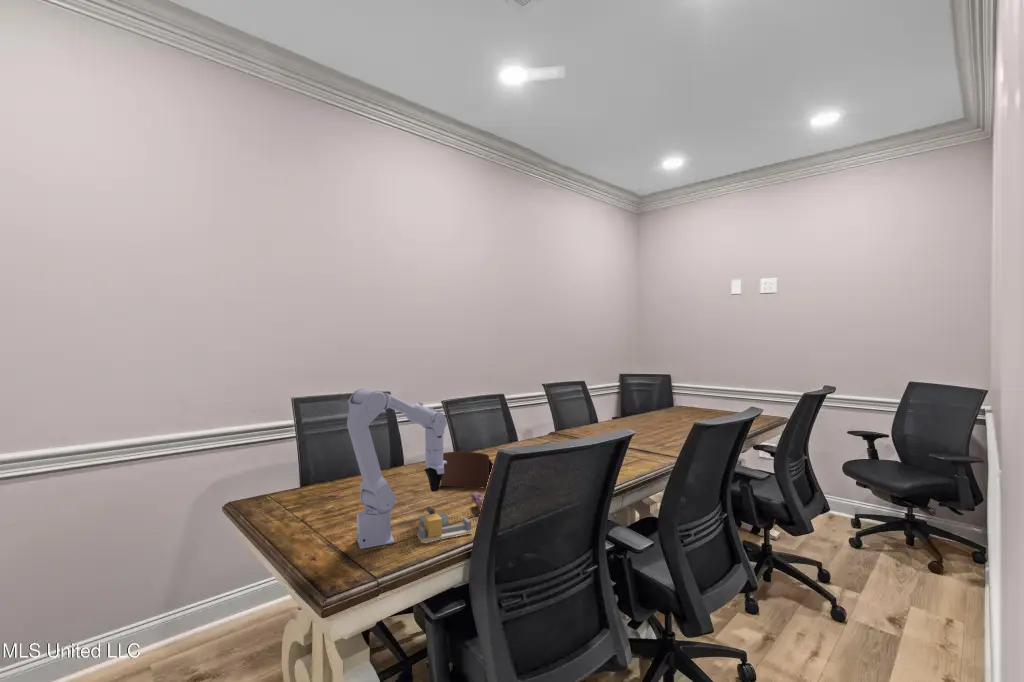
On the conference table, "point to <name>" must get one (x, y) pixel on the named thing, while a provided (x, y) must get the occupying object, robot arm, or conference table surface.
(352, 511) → the conference table surface
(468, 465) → the letter holder
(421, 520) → the lever base
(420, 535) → the rail
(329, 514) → the conference table surface
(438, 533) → the carriage
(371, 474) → the robot arm
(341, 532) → the conference table surface
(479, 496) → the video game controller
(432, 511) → the dark lever handle
